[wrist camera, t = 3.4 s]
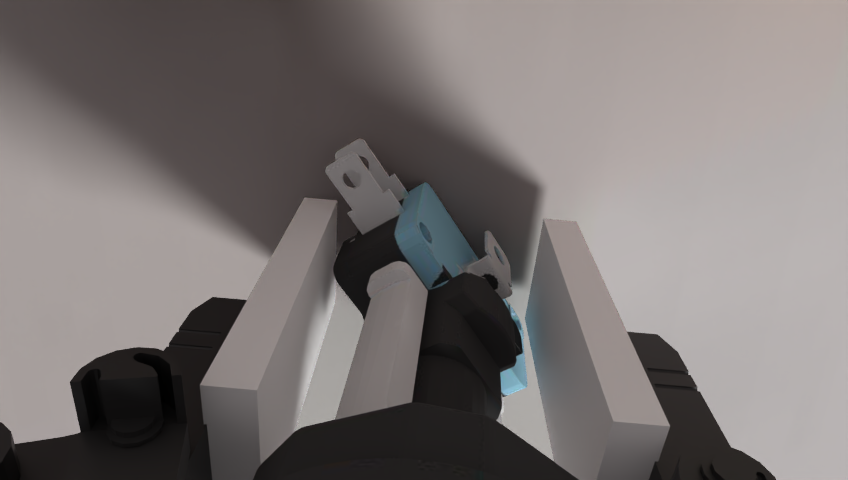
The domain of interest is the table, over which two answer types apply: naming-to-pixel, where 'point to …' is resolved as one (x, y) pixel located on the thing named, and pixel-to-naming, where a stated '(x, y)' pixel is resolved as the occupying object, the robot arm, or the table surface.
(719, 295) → the table surface
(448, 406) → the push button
